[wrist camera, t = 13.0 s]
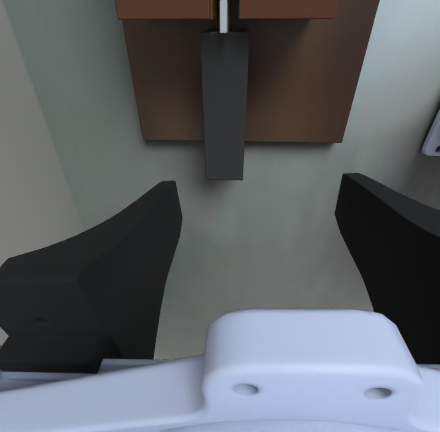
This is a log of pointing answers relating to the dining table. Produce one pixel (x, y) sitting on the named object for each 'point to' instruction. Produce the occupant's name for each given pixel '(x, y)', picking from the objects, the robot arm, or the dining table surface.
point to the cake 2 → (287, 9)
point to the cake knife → (224, 97)
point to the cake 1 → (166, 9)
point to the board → (254, 74)
